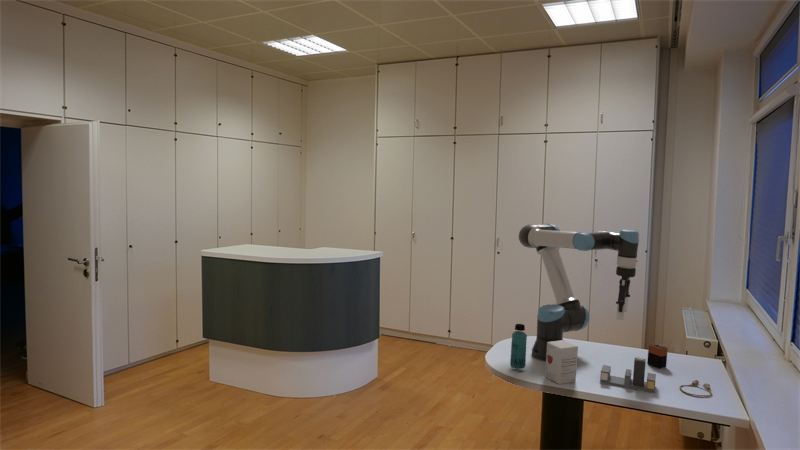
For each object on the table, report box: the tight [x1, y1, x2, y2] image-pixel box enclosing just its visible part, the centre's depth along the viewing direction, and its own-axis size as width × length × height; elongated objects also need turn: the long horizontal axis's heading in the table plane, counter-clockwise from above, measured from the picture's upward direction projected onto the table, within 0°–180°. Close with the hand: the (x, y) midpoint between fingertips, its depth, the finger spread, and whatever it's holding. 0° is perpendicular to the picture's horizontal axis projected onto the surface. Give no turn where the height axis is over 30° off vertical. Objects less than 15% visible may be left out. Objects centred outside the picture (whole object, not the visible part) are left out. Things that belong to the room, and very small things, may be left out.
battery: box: [647, 342, 668, 369], centre depth 236 cm, size 4×7×10 cm, turn 27°
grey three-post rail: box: [599, 364, 657, 394], centre depth 213 cm, size 20×8×5 cm, turn 63°
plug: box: [632, 356, 646, 387], centre depth 211 cm, size 4×4×11 cm
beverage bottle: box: [509, 323, 528, 370], centre depth 226 cm, size 6×7×20 cm
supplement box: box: [544, 339, 579, 385], centre depth 217 cm, size 9×9×15 cm
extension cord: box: [679, 379, 713, 398], centre depth 210 cm, size 12×16×2 cm
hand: (621, 315), depth 225 cm, fingers open, 13 cm apart
